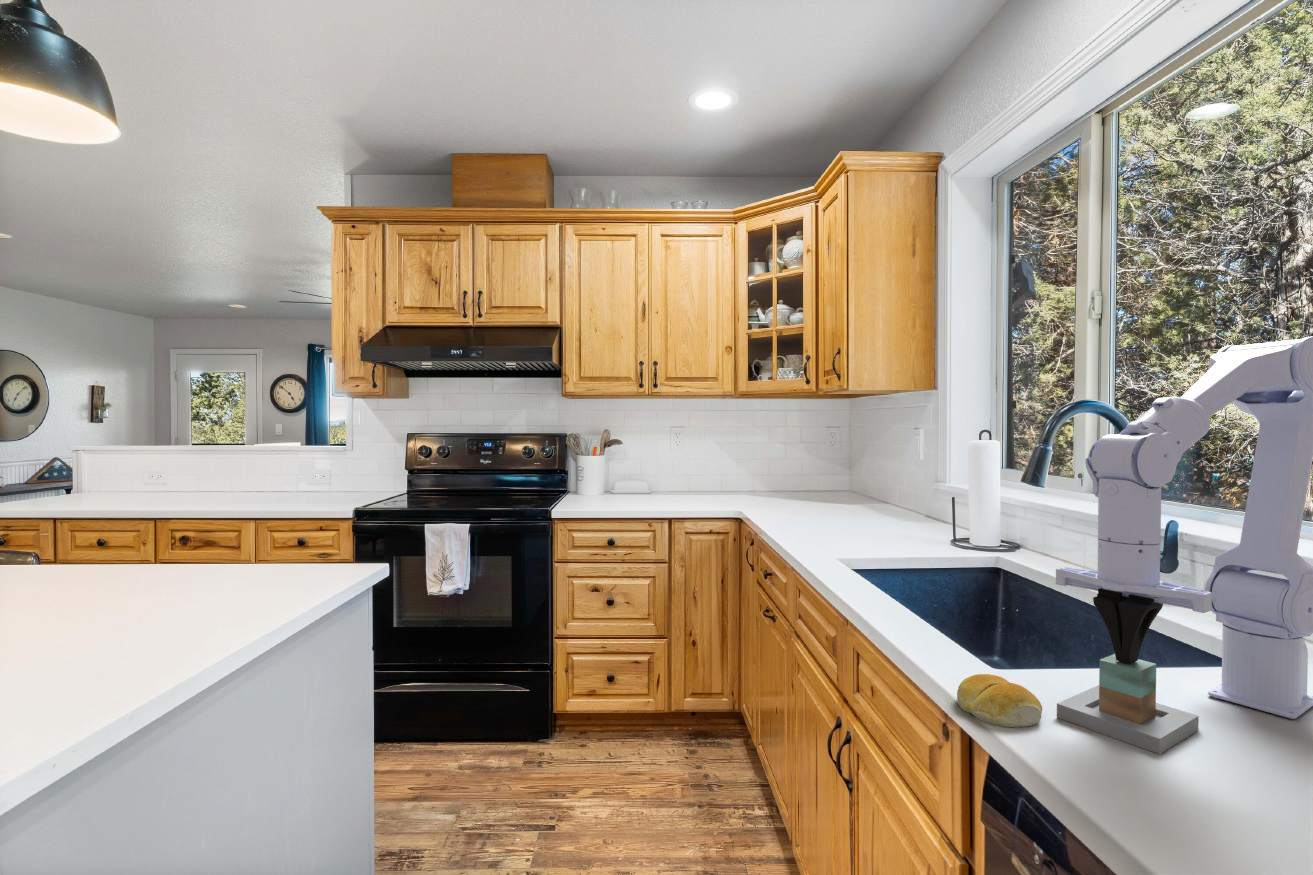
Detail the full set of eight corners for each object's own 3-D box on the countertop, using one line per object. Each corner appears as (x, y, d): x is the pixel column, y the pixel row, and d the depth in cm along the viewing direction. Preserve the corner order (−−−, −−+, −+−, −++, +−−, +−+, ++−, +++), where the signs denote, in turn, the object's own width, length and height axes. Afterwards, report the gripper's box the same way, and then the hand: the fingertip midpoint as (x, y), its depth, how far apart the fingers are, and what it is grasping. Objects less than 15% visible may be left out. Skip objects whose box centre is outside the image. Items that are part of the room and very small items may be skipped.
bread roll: (996, 694, 82) (997, 662, 82) (1055, 725, 73) (1055, 690, 73) (940, 699, 80) (940, 667, 80) (993, 732, 71) (993, 696, 71)
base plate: (1098, 697, 80) (1098, 685, 80) (1198, 729, 72) (1198, 715, 72) (1056, 717, 75) (1056, 703, 75) (1159, 754, 66) (1159, 738, 66)
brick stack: (1115, 703, 76) (1115, 653, 76) (1155, 716, 73) (1156, 663, 73) (1098, 711, 74) (1099, 659, 74) (1139, 725, 71) (1140, 670, 71)
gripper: (1043, 534, 77) (1041, 648, 77) (1193, 555, 65) (1191, 689, 65) (1072, 529, 81) (1071, 638, 81) (1220, 548, 68) (1218, 675, 69)
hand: (1126, 660), depth 73 cm, fingers closed
